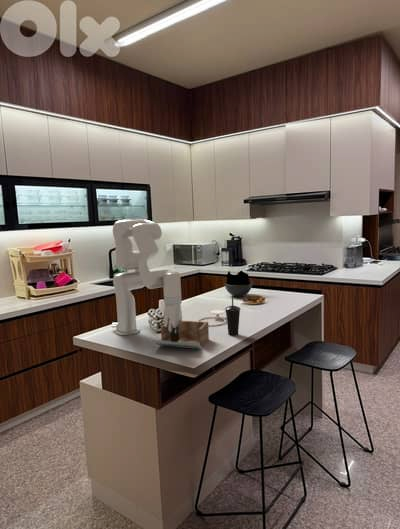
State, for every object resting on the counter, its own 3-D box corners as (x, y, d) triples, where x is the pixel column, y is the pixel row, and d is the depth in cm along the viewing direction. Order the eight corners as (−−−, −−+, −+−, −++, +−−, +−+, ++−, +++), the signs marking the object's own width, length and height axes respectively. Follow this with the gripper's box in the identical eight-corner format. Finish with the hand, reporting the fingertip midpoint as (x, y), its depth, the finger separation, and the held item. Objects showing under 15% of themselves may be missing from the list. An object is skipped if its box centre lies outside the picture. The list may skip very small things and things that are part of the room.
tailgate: (160, 345, 173) (152, 342, 165) (160, 342, 173) (153, 339, 165) (201, 348, 167) (195, 345, 159) (201, 345, 167) (195, 342, 159)
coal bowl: (256, 294, 274) (256, 269, 272) (245, 300, 257) (244, 274, 255) (232, 292, 285) (232, 268, 282) (220, 298, 268) (219, 272, 265)
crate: (161, 344, 174) (160, 326, 173) (170, 337, 185) (169, 319, 184) (202, 347, 168) (201, 328, 167) (208, 339, 179) (208, 321, 178)
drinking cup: (239, 332, 189) (239, 293, 187) (241, 336, 182) (241, 297, 179) (224, 332, 189) (224, 294, 186) (226, 337, 181) (225, 297, 179)
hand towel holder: (190, 317, 205) (207, 308, 223) (191, 325, 205) (208, 315, 223) (218, 320, 197) (233, 311, 214) (218, 328, 197) (233, 318, 215)
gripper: (171, 296, 168) (173, 335, 171) (157, 304, 154) (160, 346, 156) (186, 296, 166) (188, 336, 168) (174, 304, 152) (176, 347, 154)
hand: (175, 341), depth 162 cm, fingers closed
